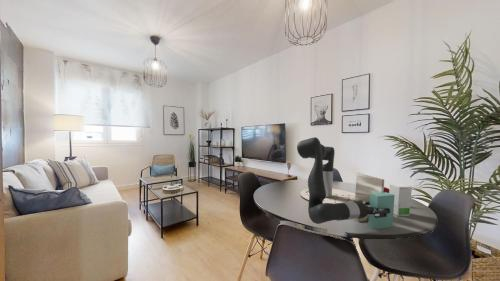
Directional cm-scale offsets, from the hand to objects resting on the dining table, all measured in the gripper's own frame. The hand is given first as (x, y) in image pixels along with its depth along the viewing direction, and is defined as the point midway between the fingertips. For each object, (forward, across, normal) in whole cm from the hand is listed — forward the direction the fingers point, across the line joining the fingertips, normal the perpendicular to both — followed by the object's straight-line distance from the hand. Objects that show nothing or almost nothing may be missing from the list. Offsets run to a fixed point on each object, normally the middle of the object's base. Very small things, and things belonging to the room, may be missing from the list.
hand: (380, 207), depth 95 cm
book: (+1, 0, +9) cm, 9 cm away
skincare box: (+24, +9, +9) cm, 27 cm away
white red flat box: (+36, +20, +9) cm, 43 cm away
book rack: (+1, +14, +9) cm, 17 cm away
